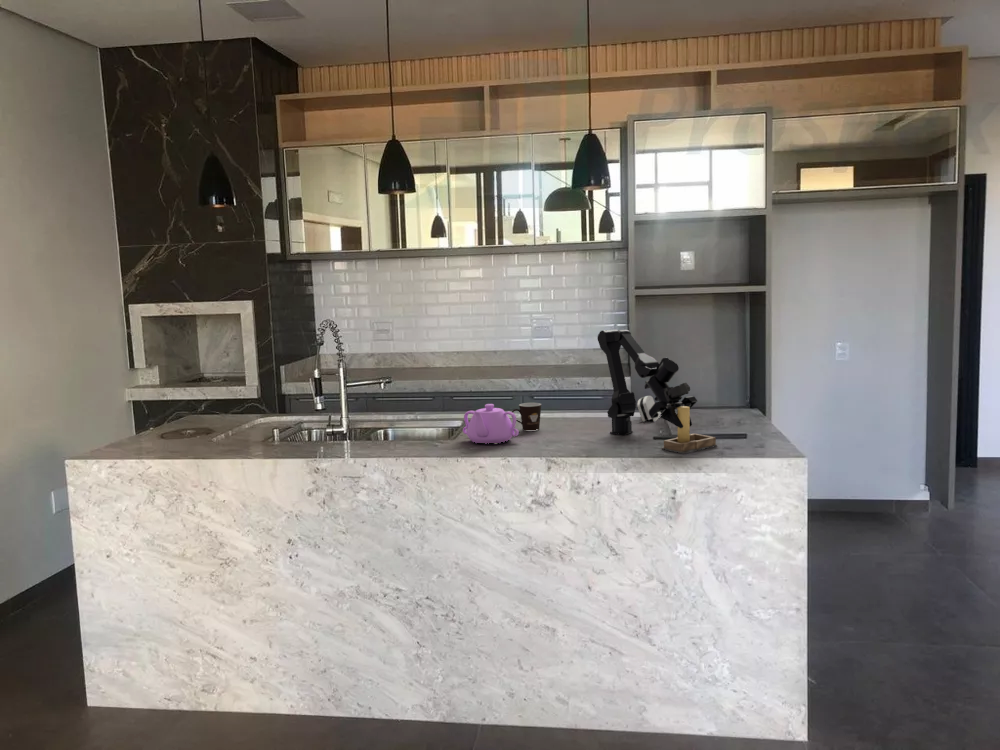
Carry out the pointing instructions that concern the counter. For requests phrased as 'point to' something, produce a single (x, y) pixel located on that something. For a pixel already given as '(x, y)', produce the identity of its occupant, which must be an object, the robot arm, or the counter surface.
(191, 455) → the counter surface
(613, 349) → the robot arm
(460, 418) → the counter surface
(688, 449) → the frame
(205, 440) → the counter surface
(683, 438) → the peg
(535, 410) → the coffee mug
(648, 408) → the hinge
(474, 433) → the teapot
